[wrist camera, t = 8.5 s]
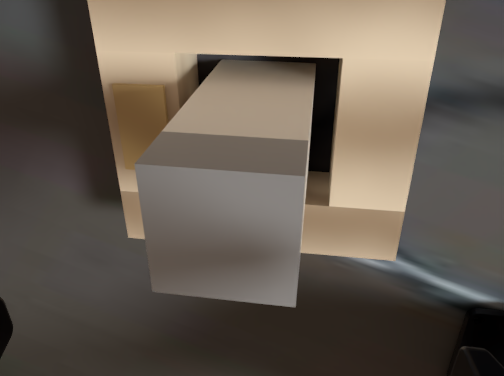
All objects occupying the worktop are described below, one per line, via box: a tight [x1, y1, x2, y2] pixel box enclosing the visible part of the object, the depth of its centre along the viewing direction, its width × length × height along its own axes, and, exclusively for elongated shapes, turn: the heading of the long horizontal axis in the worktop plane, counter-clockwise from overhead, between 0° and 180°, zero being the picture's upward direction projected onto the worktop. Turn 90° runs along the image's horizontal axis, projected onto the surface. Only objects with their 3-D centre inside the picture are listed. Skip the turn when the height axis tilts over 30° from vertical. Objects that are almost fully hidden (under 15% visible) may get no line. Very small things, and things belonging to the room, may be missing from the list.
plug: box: [134, 59, 316, 307], centre depth 16 cm, size 4×4×10 cm
